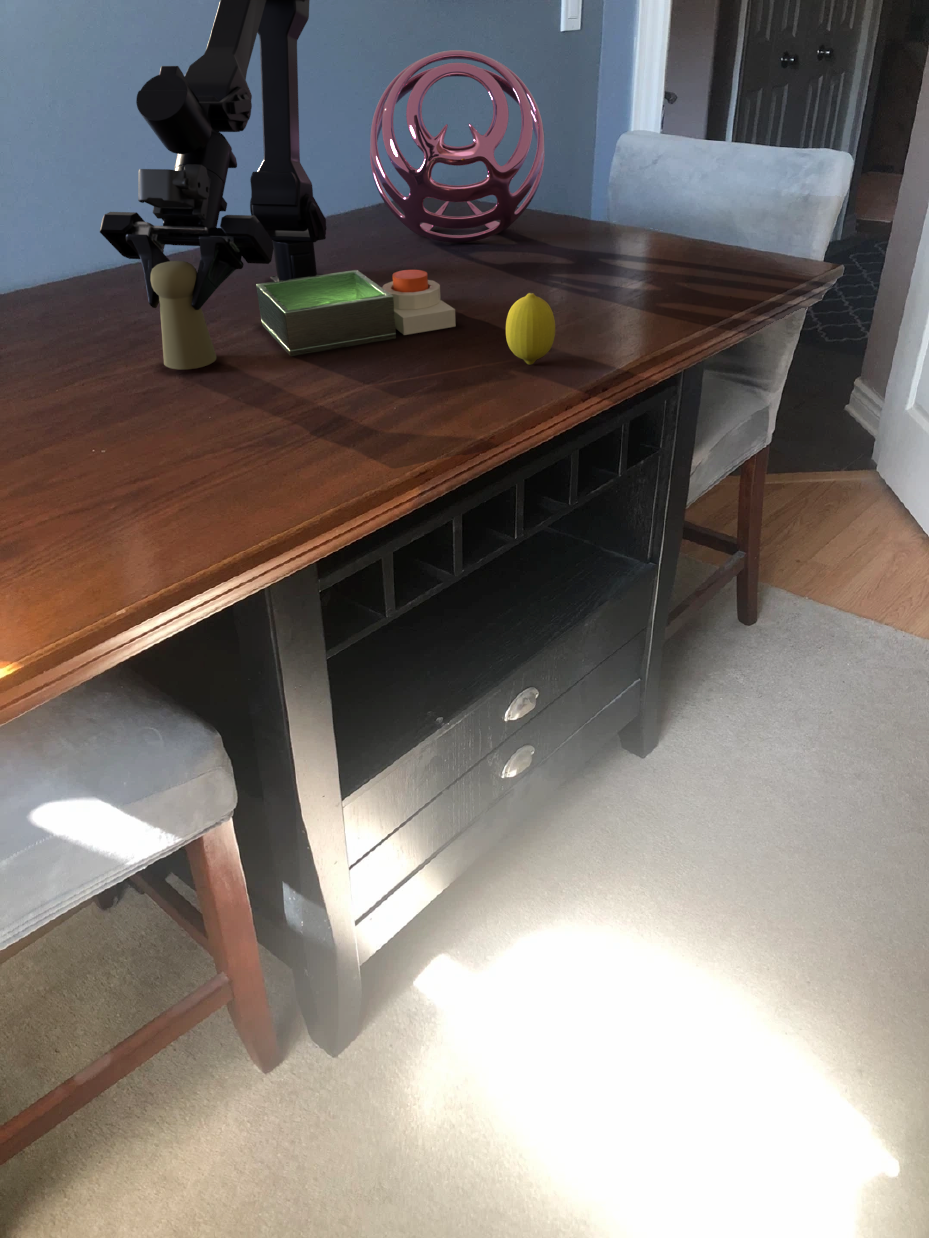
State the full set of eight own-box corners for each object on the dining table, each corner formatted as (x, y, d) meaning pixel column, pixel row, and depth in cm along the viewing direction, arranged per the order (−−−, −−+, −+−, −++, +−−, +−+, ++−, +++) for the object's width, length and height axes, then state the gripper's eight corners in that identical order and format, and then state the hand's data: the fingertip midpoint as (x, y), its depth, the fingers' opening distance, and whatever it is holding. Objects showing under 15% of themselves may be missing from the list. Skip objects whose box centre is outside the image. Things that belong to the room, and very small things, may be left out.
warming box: (261, 325, 127) (255, 284, 124) (360, 309, 131) (356, 269, 129) (290, 356, 117) (284, 312, 114) (396, 338, 121) (393, 296, 118)
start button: (388, 288, 127) (387, 272, 126) (420, 283, 128) (419, 268, 127) (401, 296, 123) (400, 281, 122) (433, 291, 125) (432, 276, 124)
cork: (168, 352, 117) (148, 257, 111) (219, 349, 118) (203, 254, 111) (159, 371, 112) (138, 272, 106) (213, 367, 113) (195, 269, 107)
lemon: (521, 376, 109) (521, 303, 105) (497, 361, 114) (496, 291, 109) (563, 367, 112) (565, 295, 107) (538, 353, 116) (539, 283, 111)
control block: (370, 310, 131) (367, 279, 129) (421, 302, 134) (419, 271, 131) (402, 335, 122) (400, 303, 120) (456, 326, 125) (455, 294, 122)
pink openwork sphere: (399, 88, 171) (388, -11, 144) (555, 130, 171) (574, 39, 144) (358, 245, 171) (340, 175, 144) (514, 287, 171) (526, 225, 144)
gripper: (87, 133, 107) (57, 266, 104) (247, 135, 103) (220, 273, 101) (138, 195, 118) (112, 316, 115) (285, 198, 114) (261, 324, 111)
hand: (173, 307), depth 110 cm, fingers closed on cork, 5 cm apart
